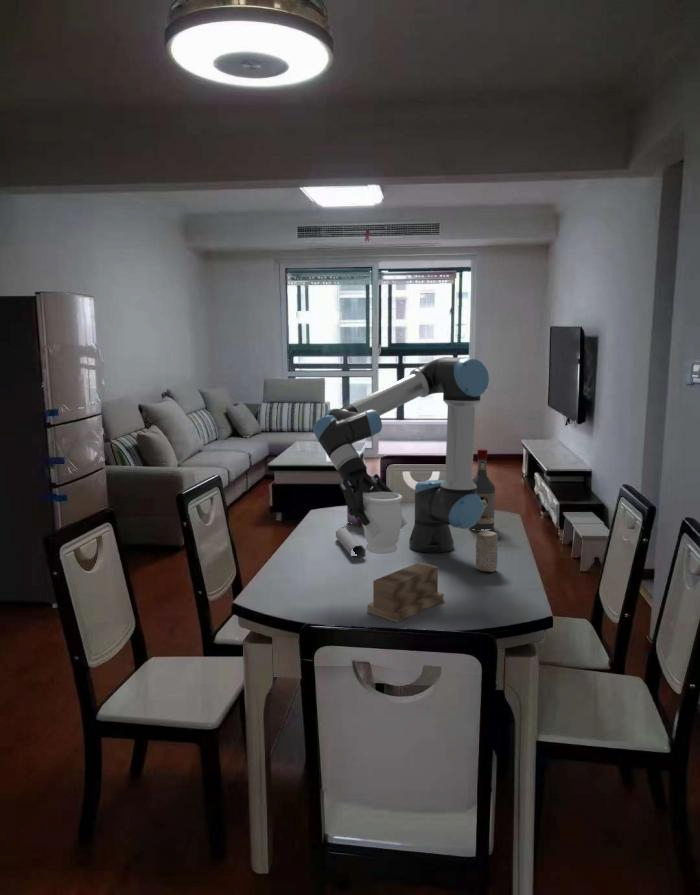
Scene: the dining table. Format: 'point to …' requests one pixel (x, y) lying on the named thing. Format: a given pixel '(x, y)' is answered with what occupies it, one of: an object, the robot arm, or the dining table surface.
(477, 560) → the carving
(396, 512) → the jar
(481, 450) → the liquor
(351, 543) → the tube
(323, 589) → the dining table surface
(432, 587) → the wooden block
